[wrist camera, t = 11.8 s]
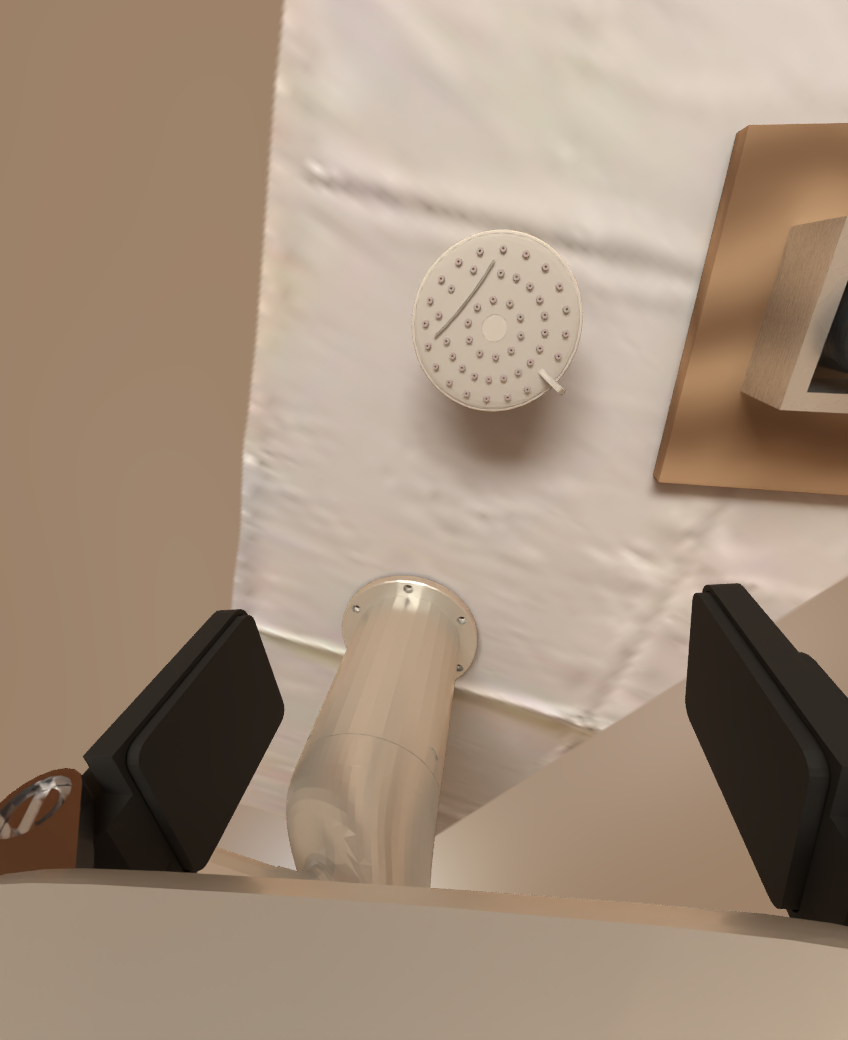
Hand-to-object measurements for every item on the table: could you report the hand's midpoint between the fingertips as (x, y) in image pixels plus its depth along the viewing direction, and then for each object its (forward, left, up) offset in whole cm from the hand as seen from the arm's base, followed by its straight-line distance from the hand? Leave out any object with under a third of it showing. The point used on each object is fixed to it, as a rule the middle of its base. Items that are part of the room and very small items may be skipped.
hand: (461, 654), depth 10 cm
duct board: (+5, -20, -27) cm, 34 cm away
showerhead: (+5, 0, -28) cm, 28 cm away
